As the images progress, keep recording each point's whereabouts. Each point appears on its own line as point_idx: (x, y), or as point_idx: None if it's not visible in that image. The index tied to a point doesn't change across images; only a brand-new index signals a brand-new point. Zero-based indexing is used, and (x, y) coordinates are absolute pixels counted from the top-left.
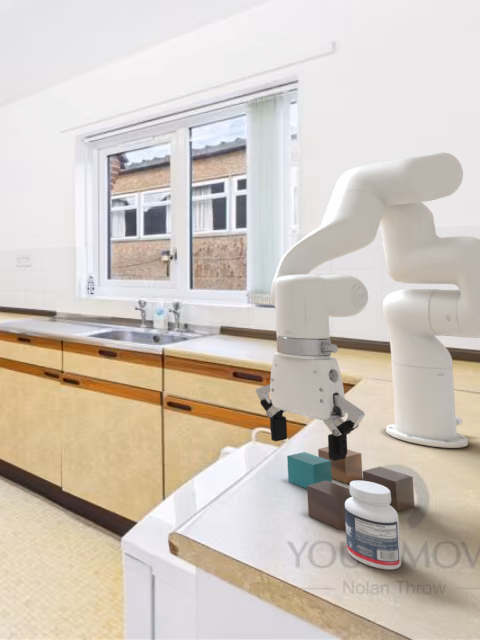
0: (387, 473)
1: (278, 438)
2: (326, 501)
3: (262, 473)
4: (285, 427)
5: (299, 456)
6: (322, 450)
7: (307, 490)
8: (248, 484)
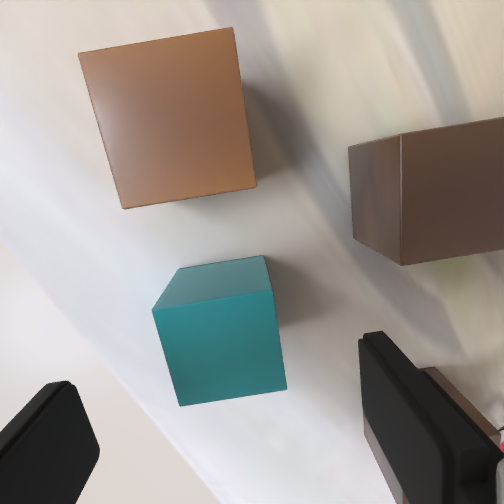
0: (465, 189)
1: (89, 447)
2: None
3: (126, 365)
4: (25, 452)
5: (196, 370)
6: (145, 205)
7: (395, 500)
8: (188, 443)
